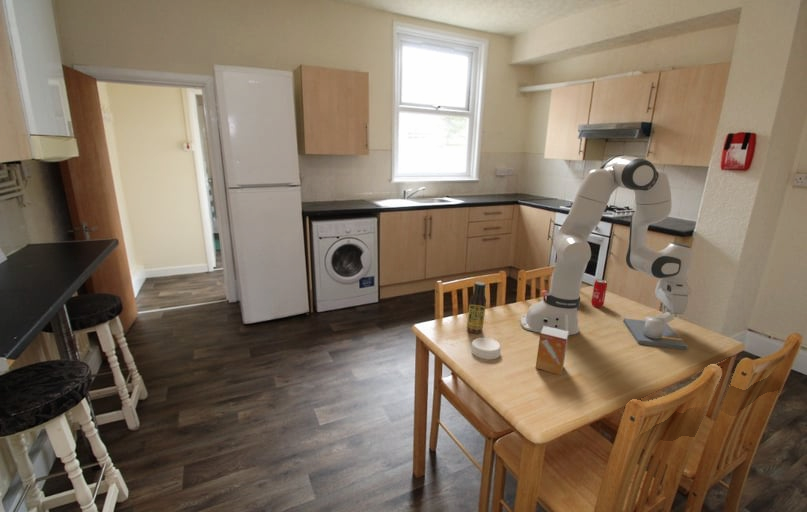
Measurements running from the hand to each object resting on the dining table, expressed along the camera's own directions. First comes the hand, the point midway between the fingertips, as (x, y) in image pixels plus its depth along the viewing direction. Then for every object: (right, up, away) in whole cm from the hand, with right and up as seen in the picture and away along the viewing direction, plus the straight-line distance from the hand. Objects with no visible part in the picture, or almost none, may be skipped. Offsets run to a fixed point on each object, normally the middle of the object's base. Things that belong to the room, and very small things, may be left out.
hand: (665, 315), depth 156 cm
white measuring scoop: (-7, -5, -6) cm, 11 cm away
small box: (-58, -13, -29) cm, 66 cm away
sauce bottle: (-78, -6, -4) cm, 78 cm away
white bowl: (-77, -10, -20) cm, 81 cm away
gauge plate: (-8, -7, -4) cm, 11 cm away
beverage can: (-16, +1, +24) cm, 29 cm away
